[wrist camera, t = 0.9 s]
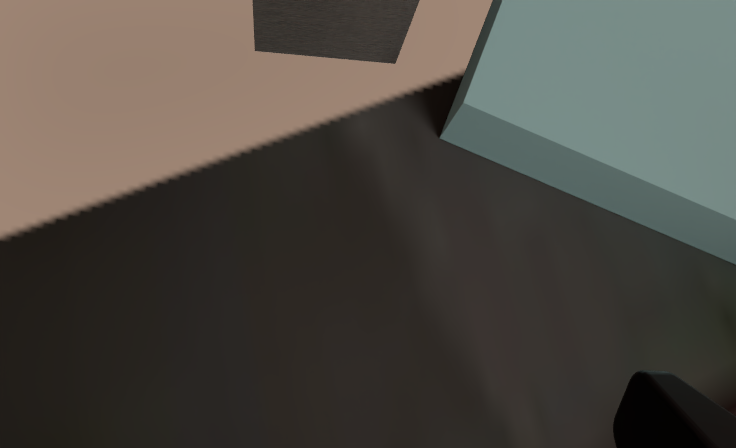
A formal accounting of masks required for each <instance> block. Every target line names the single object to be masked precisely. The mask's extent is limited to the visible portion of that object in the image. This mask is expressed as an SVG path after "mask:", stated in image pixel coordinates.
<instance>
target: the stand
mask: <svg viewBox="0 0 736 448" xmlns="http://www.w3.org/2000/svg"><path fill="white" fill-rule="evenodd" d="M440 139H442V140H445V141H447V142H450V143H452V144H454V145H457V146H459V147H461V148H464V149H466V150H468V151H471V152H473V153H475V154H478V155H480V156H482V157H485V158H487V159H489V160H492V161H494V162H496V163H499V164H501V165H503V166H506V167H508V168H510V169H513V170H515V171H517V172H520V173H522V174H524V175H527V176H529V177H532V178H534V179H536V180H539V181H541V182H543V183H546V184H548V185H550V186H553V187H555V188H557V189H560V190H562V191H564V192H567V193H569V194H571V195H574V196H576V197H578V198H581V199H583V200H585V201H588V202H590V203H592V204H595V205H597V206H599V207H602V208H604V209H607V210H609V211H611V212H614V213H616V214H618V215H621V216H623V217H625V218H628V219H630V220H632V221H635V222H637V223H639V224H642V225H644V226H646V227H649V228H651V229H653V230H656V231H658V232H660V233H663V234H665V235H667V236H670V237H672V238H674V239H677V240H679V241H682V242H684V243H686V244H689V245H691V246H693V247H696V248H698V249H700V250H703V251H705V252H707V253H710V254H712V255H714V256H717V257H719V258H721V259H724V260H726V261H728V262H731V263H733V264H735V265H736V0H493V2H492V4H491V7H490V9H489V12H488V14H487V17H486V19H485V22H484V25H483V27H482V30H481V32H480V35H479V38H478V40H477V43H476V45H475V48H474V50H473V53H472V56H471V58H470V61H469V63H468V66H467V68H466V71H465V74H464V76H463V79H462V81H461V84H460V86H459V89H458V92H457V94H456V97H455V99H454V102H453V105H452V107H451V110H450V112H449V115H448V117H447V120H446V123H445V125H444V128H443V130H442V133H441V136H440Z"/></svg>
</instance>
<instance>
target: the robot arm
mask: <svg viewBox="0 0 736 448" xmlns="http://www.w3.org/2000/svg"><path fill="white" fill-rule="evenodd" d="M613 433H614V439H615V443H616V447H617V448H736V416H734V415H733V414H732V413H730V412H729V411H727V410H726V409H724V408H723V407H721V406H720V405H718V404H717V403H715V402H714V401H712V400H711V399H710V398H708V397H707V396H705V395H704V394H702V393H701V392H699V391H698V390H696V389H695V388H693V387H692V386H690V385H689V384H688V383H686V382H685V381H683V380H682V379H680V378H679V377H677V376H676V375H674V374H672V373H670V372H666V371H645V370H642V371H638V372H636V373H635V374H634V375H633V376H632V377H631V379H630V381H629V383H628V386H627V388H626V391H625V393H624V396H623V398H622V401H621V403H620V405H619V408H618V410H617V413H616V415H615V418H614V424H613Z"/></svg>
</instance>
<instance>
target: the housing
mask: <svg viewBox="0 0 736 448" xmlns="http://www.w3.org/2000/svg"><path fill="white" fill-rule="evenodd" d="M418 3H419V0H253V16H254V39H255V51H262V52H273V53H284V54H295V55H305V56H317V57H328V58H338V59H349V60H360V61H372V62H382V63H393V64H395V63H396V60H397V58H398V55H399V53H400V50H401V47H402V44H403V42H404V39H405V37H406V34H407V31H408V29H409V26H410V24H411V21H412V18H413V16H414V13H415V11H416V8H417V5H418Z"/></svg>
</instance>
